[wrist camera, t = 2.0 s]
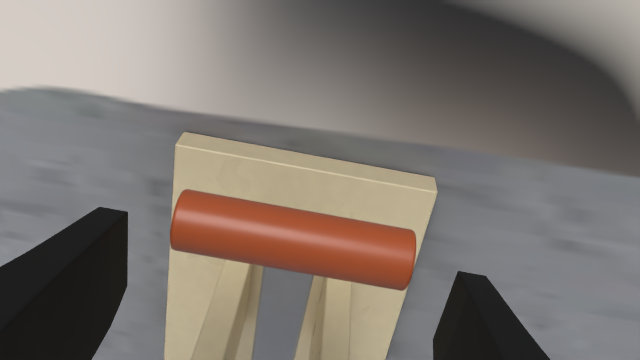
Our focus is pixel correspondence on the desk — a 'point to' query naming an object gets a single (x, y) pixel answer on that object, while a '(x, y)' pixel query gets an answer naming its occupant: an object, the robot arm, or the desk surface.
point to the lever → (290, 256)
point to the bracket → (245, 279)
